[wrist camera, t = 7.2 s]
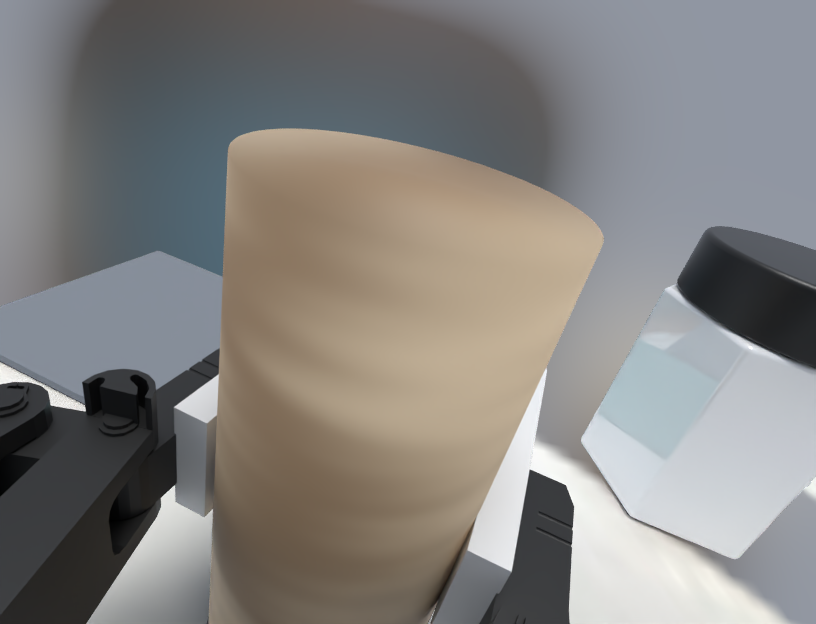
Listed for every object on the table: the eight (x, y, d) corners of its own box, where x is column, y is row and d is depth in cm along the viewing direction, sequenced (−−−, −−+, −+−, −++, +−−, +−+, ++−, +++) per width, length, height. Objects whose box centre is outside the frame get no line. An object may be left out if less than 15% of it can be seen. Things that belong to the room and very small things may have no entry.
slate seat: (315, 320, 29) (316, 315, 29) (161, 443, 19) (161, 436, 18) (158, 256, 31) (158, 250, 31) (-55, 333, 21) (-57, 325, 21)
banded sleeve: (421, 618, 15) (606, 201, 8) (345, 846, 11) (622, 326, 4) (278, 542, 16) (342, 120, 10) (152, 719, 12) (106, 141, 5)
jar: (724, 597, 18) (967, 351, 13) (554, 457, 23) (674, 231, 17) (774, 497, 24) (955, 298, 19) (630, 402, 29) (738, 220, 23)
